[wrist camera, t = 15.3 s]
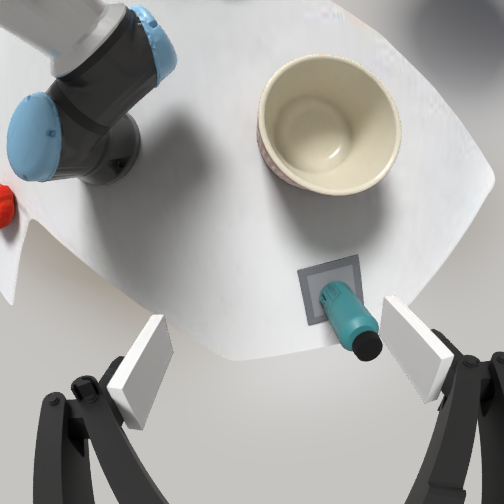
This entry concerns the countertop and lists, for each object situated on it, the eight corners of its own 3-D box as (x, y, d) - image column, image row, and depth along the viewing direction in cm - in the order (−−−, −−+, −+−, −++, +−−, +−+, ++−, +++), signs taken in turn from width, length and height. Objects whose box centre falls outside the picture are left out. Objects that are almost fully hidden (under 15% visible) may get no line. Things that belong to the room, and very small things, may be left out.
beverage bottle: (313, 281, 51) (344, 340, 32) (346, 272, 51) (391, 324, 32) (319, 311, 53) (348, 376, 34) (351, 302, 53) (391, 361, 33)
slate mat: (308, 324, 54) (308, 325, 54) (297, 270, 51) (297, 271, 51) (363, 308, 54) (364, 309, 53) (357, 254, 50) (358, 255, 50)
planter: (340, 206, 48) (373, 219, 34) (239, 164, 46) (234, 159, 32) (375, 114, 43) (416, 97, 29) (279, 70, 41) (289, 33, 27)
